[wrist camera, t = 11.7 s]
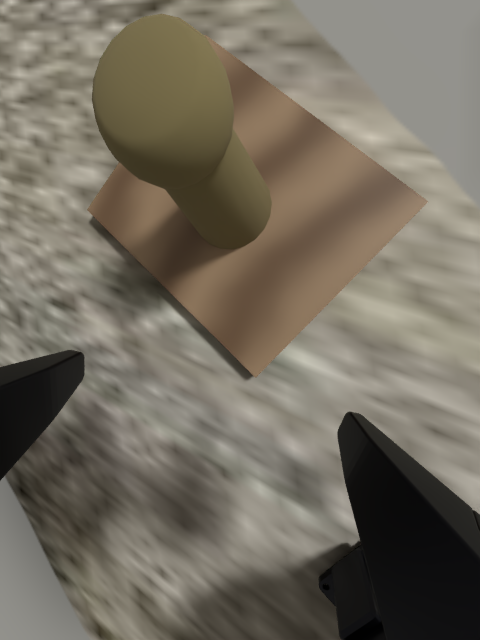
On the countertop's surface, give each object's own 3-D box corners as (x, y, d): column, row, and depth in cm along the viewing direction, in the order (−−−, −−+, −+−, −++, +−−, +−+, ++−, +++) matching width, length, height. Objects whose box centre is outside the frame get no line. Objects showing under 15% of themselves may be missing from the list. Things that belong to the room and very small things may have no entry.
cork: (224, 266, 19) (125, 208, 8) (178, 206, 20) (32, 82, 9) (289, 210, 18) (271, 57, 7) (237, 148, 18) (151, -76, 8)
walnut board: (419, 209, 17) (428, 201, 16) (258, 373, 20) (255, 377, 19) (211, 51, 20) (205, 35, 19) (97, 215, 23) (86, 209, 22)
